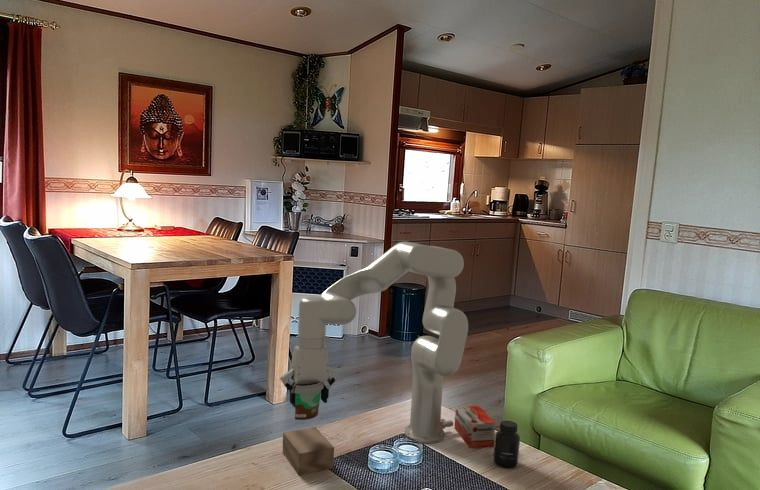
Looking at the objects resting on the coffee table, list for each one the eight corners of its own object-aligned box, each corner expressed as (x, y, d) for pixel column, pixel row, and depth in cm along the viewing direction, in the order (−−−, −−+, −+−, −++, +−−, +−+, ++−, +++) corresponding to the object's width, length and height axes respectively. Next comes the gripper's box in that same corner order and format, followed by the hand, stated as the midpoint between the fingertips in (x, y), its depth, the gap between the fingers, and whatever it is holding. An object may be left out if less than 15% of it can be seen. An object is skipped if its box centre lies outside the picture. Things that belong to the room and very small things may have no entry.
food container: (315, 424, 153) (317, 389, 152) (293, 421, 154) (295, 386, 153) (327, 407, 165) (329, 374, 164) (306, 404, 166) (308, 371, 165)
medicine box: (453, 428, 187) (455, 405, 186) (477, 427, 189) (478, 404, 188) (469, 449, 172) (471, 424, 172) (494, 448, 174) (496, 423, 173)
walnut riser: (315, 446, 169) (315, 427, 168) (333, 468, 157) (334, 447, 156) (282, 452, 164) (283, 432, 164) (298, 475, 152) (299, 453, 151)
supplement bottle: (504, 471, 160) (507, 430, 158) (488, 460, 166) (491, 420, 164) (522, 466, 163) (525, 426, 162) (507, 456, 169) (510, 417, 168)
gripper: (335, 336, 164) (332, 394, 166) (276, 341, 156) (274, 402, 158) (345, 343, 158) (343, 404, 160) (285, 348, 150) (283, 412, 152)
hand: (309, 403), depth 159 cm, fingers closed on food container, 8 cm apart
